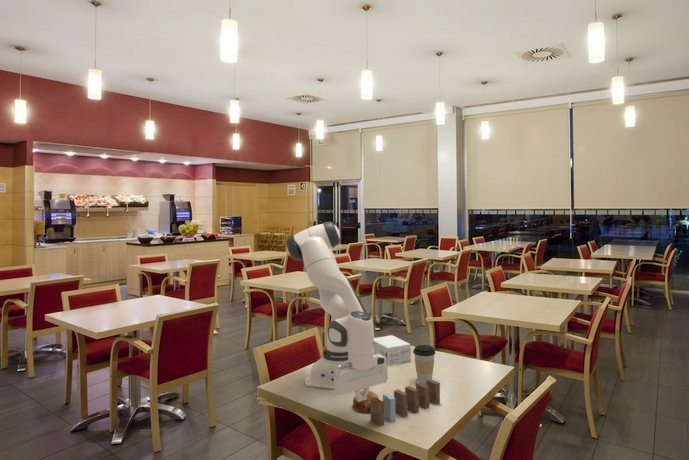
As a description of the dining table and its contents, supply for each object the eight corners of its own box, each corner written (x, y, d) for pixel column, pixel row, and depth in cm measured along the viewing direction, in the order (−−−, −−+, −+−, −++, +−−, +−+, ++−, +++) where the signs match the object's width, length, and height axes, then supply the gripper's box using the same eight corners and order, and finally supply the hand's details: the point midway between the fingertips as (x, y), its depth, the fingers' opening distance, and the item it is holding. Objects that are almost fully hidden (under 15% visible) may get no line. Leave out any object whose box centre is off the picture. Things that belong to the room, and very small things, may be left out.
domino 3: (403, 417, 160) (403, 395, 159) (394, 412, 164) (393, 390, 163) (407, 415, 161) (407, 393, 160) (398, 410, 165) (398, 389, 165)
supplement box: (370, 356, 226) (370, 338, 225) (392, 352, 232) (392, 334, 231) (388, 367, 211) (387, 347, 210) (411, 362, 217) (411, 343, 216)
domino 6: (436, 405, 169) (436, 384, 169) (426, 400, 173) (426, 380, 173) (439, 403, 170) (439, 383, 170) (430, 399, 174) (430, 379, 174)
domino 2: (387, 414, 162) (387, 393, 161) (395, 420, 157) (395, 398, 157) (383, 416, 161) (382, 394, 161) (390, 421, 157) (390, 399, 156)
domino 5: (425, 408, 166) (425, 387, 166) (416, 404, 170) (415, 383, 170) (429, 407, 167) (429, 386, 167) (419, 402, 171) (419, 382, 171)
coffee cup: (435, 387, 186) (435, 351, 185) (412, 386, 187) (412, 350, 187) (435, 378, 195) (435, 344, 194) (413, 377, 197) (413, 343, 196)
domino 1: (379, 426, 153) (379, 403, 153) (370, 420, 158) (370, 398, 157) (384, 424, 155) (383, 401, 154) (375, 419, 159) (374, 397, 158)
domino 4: (414, 413, 163) (414, 391, 162) (405, 408, 167) (405, 387, 167) (418, 411, 164) (418, 390, 164) (409, 406, 168) (409, 385, 168)
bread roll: (379, 412, 172) (378, 390, 175) (380, 412, 162) (379, 389, 165) (353, 412, 172) (353, 390, 175) (352, 412, 162) (352, 389, 166)
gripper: (340, 369, 144) (340, 411, 144) (390, 357, 155) (390, 396, 155) (330, 363, 149) (330, 404, 150) (379, 352, 160) (379, 390, 161)
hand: (361, 400), depth 153 cm, fingers closed
